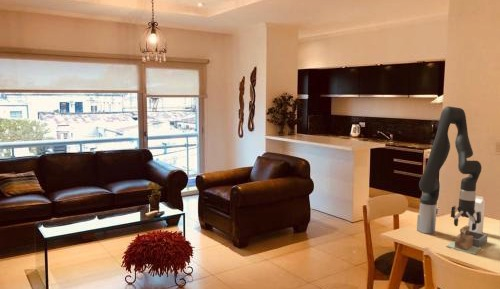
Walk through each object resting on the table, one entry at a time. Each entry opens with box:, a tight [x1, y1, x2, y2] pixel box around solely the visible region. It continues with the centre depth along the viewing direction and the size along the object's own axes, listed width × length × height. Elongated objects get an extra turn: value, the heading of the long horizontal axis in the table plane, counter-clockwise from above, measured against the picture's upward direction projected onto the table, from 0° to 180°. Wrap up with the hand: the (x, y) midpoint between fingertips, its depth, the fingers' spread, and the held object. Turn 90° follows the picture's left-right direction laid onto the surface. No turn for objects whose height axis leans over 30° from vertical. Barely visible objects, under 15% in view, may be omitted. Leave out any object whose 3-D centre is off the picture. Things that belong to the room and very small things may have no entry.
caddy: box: [454, 225, 473, 251], centre depth 218 cm, size 6×8×11 cm
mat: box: [445, 240, 482, 255], centre depth 219 cm, size 14×10×1 cm
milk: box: [467, 195, 486, 234], centre depth 242 cm, size 6×6×22 cm
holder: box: [464, 231, 488, 248], centre depth 227 cm, size 10×12×4 cm
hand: (464, 227), depth 217 cm, fingers open, 8 cm apart
